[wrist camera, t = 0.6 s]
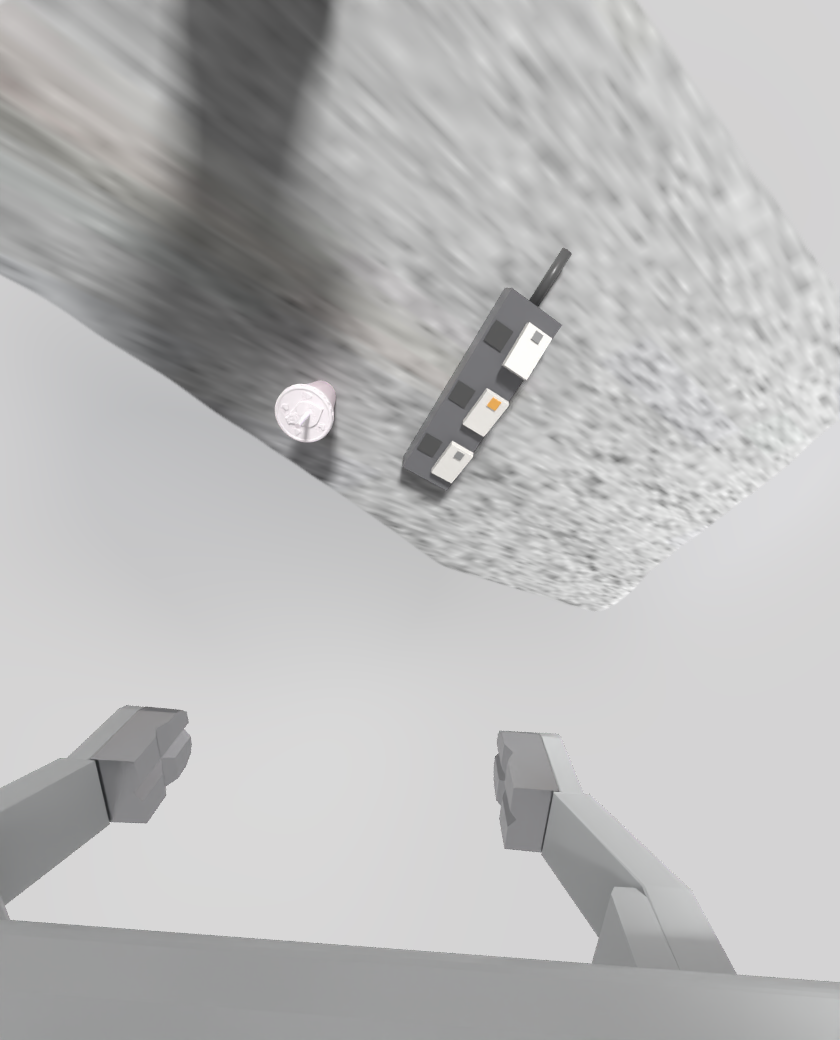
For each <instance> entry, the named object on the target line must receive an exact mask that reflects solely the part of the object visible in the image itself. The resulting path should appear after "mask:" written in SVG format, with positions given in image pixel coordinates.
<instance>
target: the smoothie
mask: <svg viewBox="0 0 840 1040" xmlns="http://www.w3.org/2000/svg"><path fill="white" fill-rule="evenodd" d="M335 401H336V392H335V390H334V388H333V387H332V386H331V385H330V384H329V383H328V382H326V381H321V380H319V381H315V382H312V383H308V384H296V385H292V386H290V387H288V388H286V389H285V390H284V391H283V392H282V393H281V394H280V395H279V397H278V399H277V401H276V404H275V416H276V420H277V422H278V424H279V426H280V428H281V429H282V430H283V431H284V433H286V434H287V435H288V436H289V437H291V438H292V439H294V440H297V441H300V442H305V443H311V442H316V441H318V440H320V439H322V438H323V437H324V436H325V435H326V434H327V433H328V432H329V431H330V429H331V428H332V425H333V421H334V412H333V410H334V405H335Z"/></svg>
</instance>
